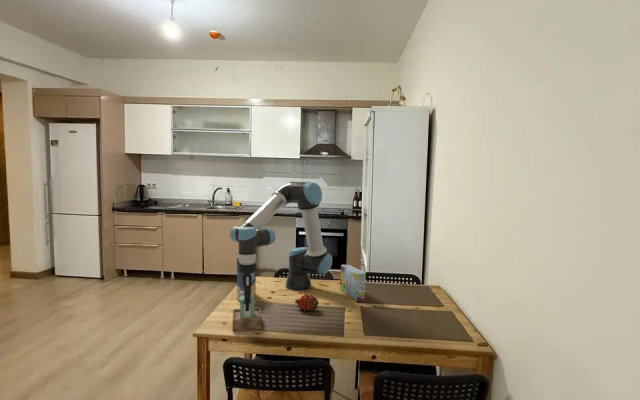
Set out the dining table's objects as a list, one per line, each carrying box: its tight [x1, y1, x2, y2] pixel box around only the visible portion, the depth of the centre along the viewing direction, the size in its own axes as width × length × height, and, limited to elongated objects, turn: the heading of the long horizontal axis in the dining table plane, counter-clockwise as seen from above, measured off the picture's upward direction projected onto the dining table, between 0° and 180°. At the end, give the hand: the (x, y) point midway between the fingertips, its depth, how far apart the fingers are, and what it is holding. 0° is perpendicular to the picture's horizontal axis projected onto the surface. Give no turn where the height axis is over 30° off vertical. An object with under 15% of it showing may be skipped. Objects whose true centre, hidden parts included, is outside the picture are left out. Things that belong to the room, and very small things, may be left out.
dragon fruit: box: [294, 293, 320, 312], centre depth 175 cm, size 8×8×12 cm
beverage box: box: [236, 258, 257, 301], centre depth 192 cm, size 7×11×22 cm, turn 174°
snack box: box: [339, 264, 367, 302], centre depth 198 cm, size 21×6×15 cm, turn 22°
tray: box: [232, 307, 263, 332], centre depth 157 cm, size 12×12×5 cm
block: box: [239, 295, 255, 319], centre depth 156 cm, size 6×6×8 cm
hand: (246, 314), depth 157 cm, fingers closed on block, 6 cm apart
